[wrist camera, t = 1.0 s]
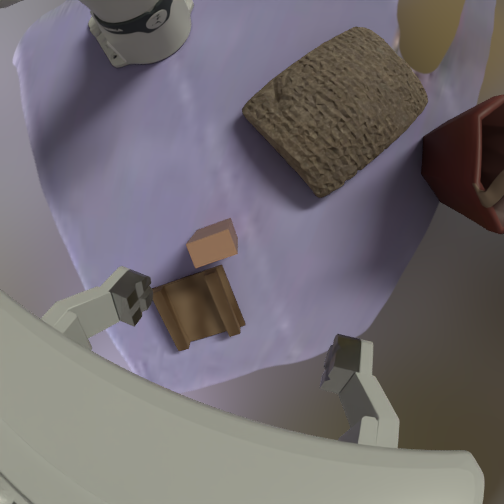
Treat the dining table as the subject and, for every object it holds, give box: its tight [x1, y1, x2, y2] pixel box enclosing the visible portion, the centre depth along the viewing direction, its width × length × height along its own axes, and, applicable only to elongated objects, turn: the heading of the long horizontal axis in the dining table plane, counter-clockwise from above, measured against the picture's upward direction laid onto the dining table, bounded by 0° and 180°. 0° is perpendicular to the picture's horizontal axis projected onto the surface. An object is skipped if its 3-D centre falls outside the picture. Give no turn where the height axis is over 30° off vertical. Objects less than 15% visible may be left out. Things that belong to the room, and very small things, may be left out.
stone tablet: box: [242, 27, 428, 198], centre depth 41 cm, size 20×8×30 cm
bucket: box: [421, 95, 504, 234], centre depth 36 cm, size 24×22×25 cm
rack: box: [152, 265, 245, 351], centre depth 51 cm, size 14×12×3 cm
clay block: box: [186, 218, 238, 268], centre depth 44 cm, size 6×4×11 cm, turn 109°
